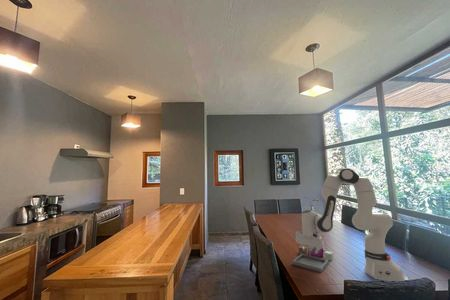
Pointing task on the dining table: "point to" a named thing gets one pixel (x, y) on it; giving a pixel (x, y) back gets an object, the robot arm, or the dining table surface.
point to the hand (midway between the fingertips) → (309, 251)
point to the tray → (311, 262)
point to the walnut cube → (302, 250)
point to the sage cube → (328, 255)
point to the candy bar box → (312, 251)
